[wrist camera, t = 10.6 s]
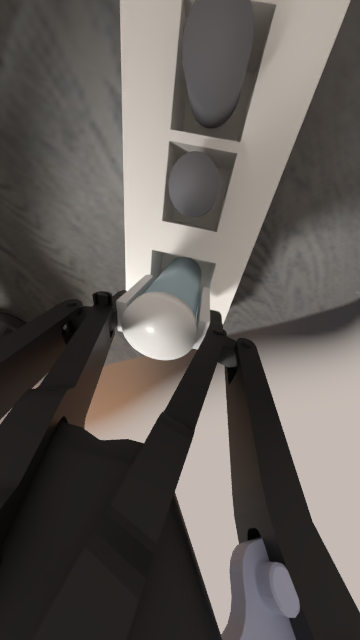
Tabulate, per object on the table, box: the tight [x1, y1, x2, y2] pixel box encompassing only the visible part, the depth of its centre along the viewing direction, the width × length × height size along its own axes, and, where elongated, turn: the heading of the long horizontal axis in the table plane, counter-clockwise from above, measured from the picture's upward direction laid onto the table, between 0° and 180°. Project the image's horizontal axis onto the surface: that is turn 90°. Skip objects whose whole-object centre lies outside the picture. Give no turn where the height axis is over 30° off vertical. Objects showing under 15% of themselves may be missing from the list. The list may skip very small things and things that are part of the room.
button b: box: [182, 0, 254, 129], centre depth 11 cm, size 4×4×6 cm
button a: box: [169, 151, 219, 217], centre depth 15 cm, size 4×4×6 cm
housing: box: [120, 0, 351, 324], centre depth 18 cm, size 24×13×6 cm, turn 170°
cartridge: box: [121, 257, 202, 360], centre depth 17 cm, size 5×5×14 cm
